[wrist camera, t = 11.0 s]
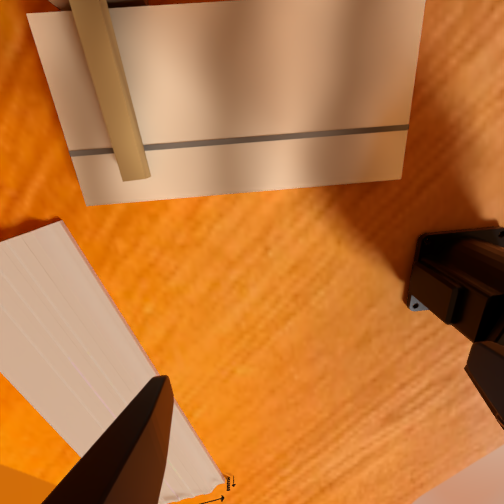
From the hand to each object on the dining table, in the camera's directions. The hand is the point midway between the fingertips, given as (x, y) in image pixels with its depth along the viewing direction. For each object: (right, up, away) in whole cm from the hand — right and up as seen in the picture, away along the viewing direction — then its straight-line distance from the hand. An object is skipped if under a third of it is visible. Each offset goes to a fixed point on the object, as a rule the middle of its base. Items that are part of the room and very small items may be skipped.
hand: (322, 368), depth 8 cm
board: (-3, +12, +8) cm, 14 cm away
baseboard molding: (-14, -9, +17) cm, 24 cm away
